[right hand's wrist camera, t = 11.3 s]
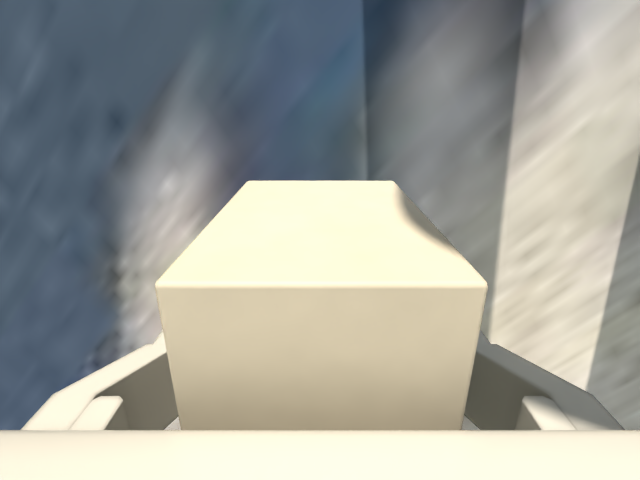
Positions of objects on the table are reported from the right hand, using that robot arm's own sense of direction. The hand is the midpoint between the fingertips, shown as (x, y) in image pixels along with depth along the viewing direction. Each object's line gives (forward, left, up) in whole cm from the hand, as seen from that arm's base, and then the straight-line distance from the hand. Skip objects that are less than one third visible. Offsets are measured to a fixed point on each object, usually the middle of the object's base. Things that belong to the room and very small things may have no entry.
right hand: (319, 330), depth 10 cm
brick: (0, 0, -3) cm, 3 cm away
